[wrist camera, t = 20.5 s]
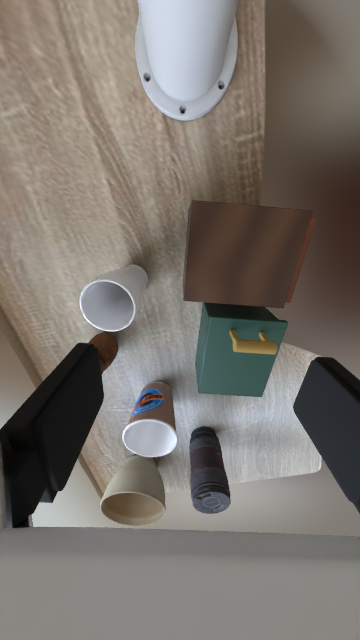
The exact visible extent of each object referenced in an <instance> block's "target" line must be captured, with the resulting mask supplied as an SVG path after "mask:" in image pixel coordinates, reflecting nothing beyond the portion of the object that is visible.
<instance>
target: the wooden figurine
mask: <svg viewBox="0 0 360 640" xmlns="http://www.w3.org/2000/svg"><path fill="white" fill-rule="evenodd" d="M89 343H90V344H93V345H94V347H97V348H98V350H99V359H100V367H101V375H102V373H103V371H105V370H106V369H107V368H108V367H109V366H110V365H111V363H112V362H113V360H114V359H115V357H116V355H117V352H118V342H117V340H116V338H115V337H114V336H112V335H111V334H108V333H101V334H98V335H96V336H95V337H94V338H92V339H91V340H90V341H89Z"/></svg>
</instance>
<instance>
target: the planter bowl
mask: <svg viewBox="0 0 360 640" xmlns="http://www.w3.org/2000/svg"><path fill="white" fill-rule="evenodd" d="M165 510H166V508H165V490H164V484H163V480H162V477H161V475H160V473H159V471H158V469H157V464H156V462H155V461H154V460H153V459H152V458H150V457H145V456H140V455H134V456H131V457H129V458H128V459H127V460H126V461H125V463H124V465H122V466H121V467H120V468H119V469H118V471H117V472H116V473H115V474H114V476H113V477H112V479H111V480H110V482H109V484H108V486H107V488H106V491H105V494H104V497H103V498H102V500H101V503H100V511H101V512H102V514H103V515H104V516H105V517H107V518H108V519H110V520H111V521H113V522H116V523H119V524H122V525H127V526H146V525H151V524H154V523H156V522H158V521H160V520H161V519H162V518H163V517H164V515H165Z"/></svg>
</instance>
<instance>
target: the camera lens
mask: <svg viewBox="0 0 360 640" xmlns="http://www.w3.org/2000/svg"><path fill="white" fill-rule="evenodd" d="M190 464H191V498H192V501H193V506H194V508H195V509H196V510H198V511H200V512H202V513H207V514H212V513H218V512H221V511H224V510H225V509H227V508H228V507H229V505H230V491H229V485H228V480H227V476H226V472H225V469H224V464H223V458H222V451H221V446H220V443H219V439H218V437H217V436H216V433H215V431H214V430H212V429H210V428H207V427H201V428H197V429H195V430H194V431H193V432H192V434H191V439H190Z"/></svg>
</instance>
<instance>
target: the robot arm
mask: <svg viewBox="0 0 360 640" xmlns="http://www.w3.org/2000/svg"><path fill="white" fill-rule="evenodd" d="M137 1H138V6H139V11H140V13H139V16H138V21H137V26H136V33H135V53H136V62H137V66H138V71H139V75H140V78H141V82H142V84H143V86H144V89H145V91H146V93H147V95H148V96H149V98H150V99H151V101H152V103H153V104H154V105H155V106H156V107H157V108H158V109H159V110H160V111H161V112H163V113H164V114H165V115H167V116H169V117H171V118H173V119H176V120H182V121H188V120H195V119H198V118H200V117H202V116H204V115H206V114H207V113H209V112H210V111H211V110H212V109H213V108H214V107H215V106H216V105H217V104H218V103H219V102H220V100H221V99H222V97H223V96H224V94H225V92H226V90H227V88H228V86H229V84H230V81H231V78H232V76H233V72H234V68H235V65H236V59H237V51H238V31H237V24H236V18H235V15H236V11H237V7H238V3H239V0H137ZM148 79H149V80H150V81H148V82H146V81H147V80H148ZM219 87H222V89H219ZM181 111H184V114H181ZM103 398H104V392H103V384H102V375H101V367H100V359H99V350H98V348H97V347H94V345H93V344H90V343H78V344H77V345H76V346H75V347H74V348H73V349H72V350H71V351H70V353H69V354H68V355H67V356H66V357H65V358H64V359H63V360H62V361H61V363H60V364H59V365H58V366H57V367H56V368H55V369H54V370H53V372H52V373H51V374H50V375H49V376H48V377H47V378H46V379H45V380H44V381H43V382H42V383H41V385H40V386H39V387H38V388H37V389H36V390H35V391H34V392H33V394H32V395H31V396H30V397H29V398H28V399H27V400H26V401H25V402H24V403H23V405H22V406H21V407H20V408H19V409H18V410H17V411H16V412H15V414H14V415H13V416H12V417H11V418H10V419H9V420H8V421H7V423H6V424H5V425H4V426H3V427H2V428H1V429H0V640H360V537H354V536H331V535H304V534H278V533H253V532H226V531H196V530H165V529H164V530H163V529H133V528H94V527H86V528H85V527H82V528H81V527H33V523H32V516H31V514H33V513H34V511H35V509H36V507H37V505H38V504H39V502H49V503H53V500H54V498H55V496H56V494H57V492H58V491H62V490H63V488H64V487H65V485H66V483H67V481H68V479H69V476H70V474H71V472H72V470H73V467H74V465H75V463H76V461H77V458H78V456H79V454H80V452H81V450H82V447H83V445H84V443H85V441H86V438H87V436H88V434H89V432H90V429H91V427H92V425H93V423H94V421H95V418H96V416H97V414H98V412H99V409H100V407H101V405H102V402H103ZM293 408H294V412H295V414H296V416H297V417H298V419H299V421H300V422H301V424H302V426H303V427H304V429H305V430H306V432H307V434H308V435H309V437H310V439H311V440H312V442H313V443H314V445H315V447H316V448H317V450H318V452H319V453H320V455H321V456H322V458H323V460H324V461H325V463H326V464H327V466H328V468H329V469H330V471H331V473H332V474H333V476H334V478H335V479H336V481H337V483H338V484H339V486H340V487H341V489H342V491H343V492H344V494H345V495H346V497H347V498H348V500H349V501H351V502H352V503H353V504H354V505H355V507H356V508H357V510H358V512H359V513H360V380H359V379H357V378H356V377H355V376H354V375H353V374H352V373H350V372H349V371H348V370H347V369H346V368H345V367H343V366H342V365H341V364H340V363H339V362H337V361H336V360H335V359H334V358H329V357H317V358H315V359H314V360H313V361H311V363H310V365H309V368H308V370H307V373H306V375H305V378H304V380H303V383H302V385H301V388H300V390H299V392H298V395H297V397H296V400H295V402H294V405H293Z"/></svg>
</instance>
